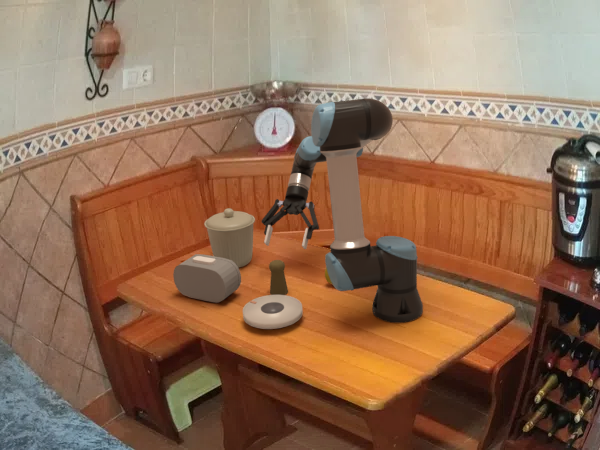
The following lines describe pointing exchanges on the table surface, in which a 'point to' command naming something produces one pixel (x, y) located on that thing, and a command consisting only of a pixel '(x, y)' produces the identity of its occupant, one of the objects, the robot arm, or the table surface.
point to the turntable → (272, 311)
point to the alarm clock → (207, 277)
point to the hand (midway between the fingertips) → (284, 245)
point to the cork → (277, 278)
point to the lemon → (327, 277)
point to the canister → (231, 235)
